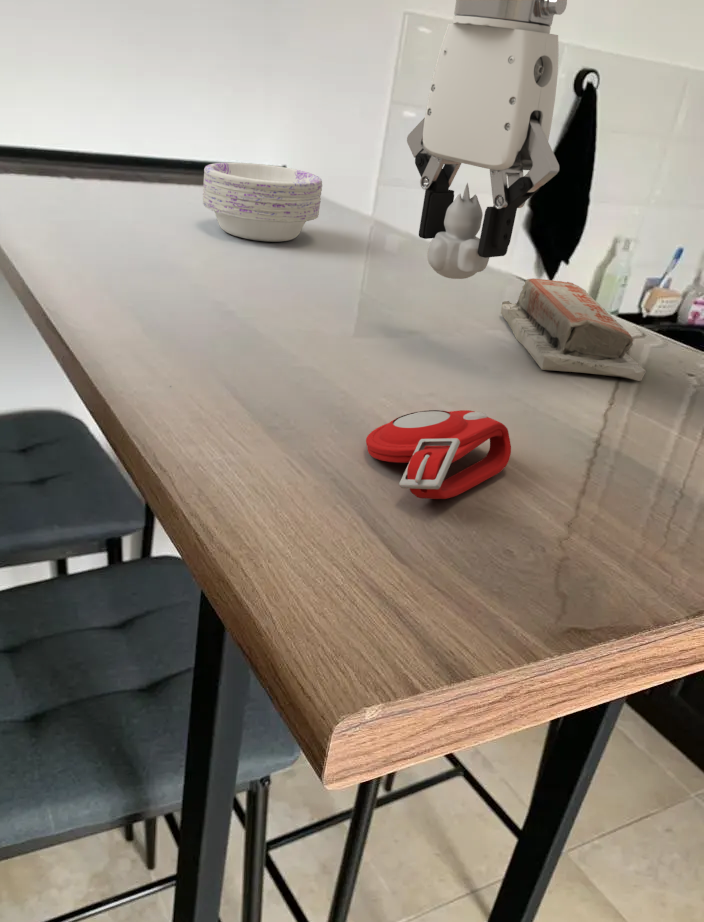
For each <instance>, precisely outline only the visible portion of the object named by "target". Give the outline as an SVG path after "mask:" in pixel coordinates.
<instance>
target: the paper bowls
mask: <svg viewBox="0 0 704 922" xmlns="http://www.w3.org/2000/svg"><path fill="white" fill-rule="evenodd" d="M203 172H204V173H203V186H202V187H203V188H202V189H203V190H202V200H203V202H202V205H203V206H204V207H205V208H206V209H208V210H210V211H212V212H214V214H215V218H216V220H217V224H218V225H219V227H220V229H221V230H223V231H224V232H225V233H227V234H229V235H232V236H235V237H238V238H240V239H241V238H242V239H245V240H251V241H257V242H269V243H270V242H272V243H273V242H275V243H276V242H278V243H279V242H287V241H292V240H294V239H296V238H297V237H298V236H299V235H300V233H301V231H302V230H303V228H304V226H305V224H306V222H309V221H314V220H317V219H318V218H319V215H320V208H321V207H320V206H321V200H322V199H321V198H322V197H321V195H322V191H323V180H322V178H321V177H320V176H318V175H317V174H314V173H311V172H308V171H304V170H301V169H296V168H291V167H286V166H279V165H273V164H272V165H271V164H263V163H252V162H215V163H210V164H207V165H205V166H204V169H203Z"/></svg>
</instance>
